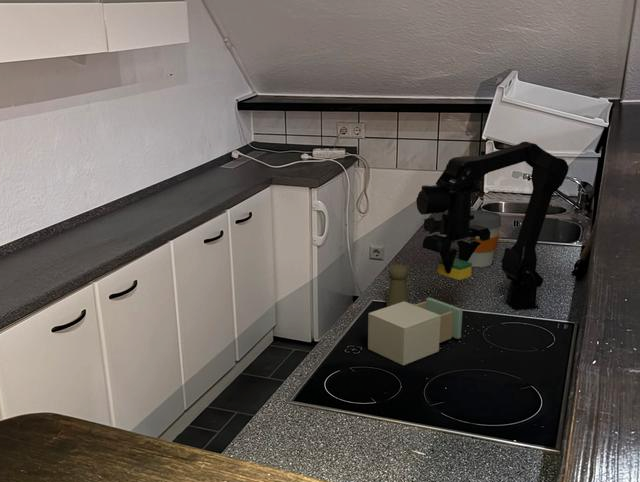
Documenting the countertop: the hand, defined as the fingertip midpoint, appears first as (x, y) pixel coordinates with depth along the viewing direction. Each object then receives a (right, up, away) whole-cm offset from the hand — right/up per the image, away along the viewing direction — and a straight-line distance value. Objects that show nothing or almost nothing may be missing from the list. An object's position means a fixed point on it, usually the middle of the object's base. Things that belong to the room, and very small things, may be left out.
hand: (454, 270), depth 192 cm
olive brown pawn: (-12, -9, +13) cm, 20 cm away
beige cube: (-15, -19, -14) cm, 28 cm away
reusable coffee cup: (+17, +4, +44) cm, 47 cm away
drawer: (-8, -16, -9) cm, 20 cm away
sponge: (0, -1, 0) cm, 1 cm away
